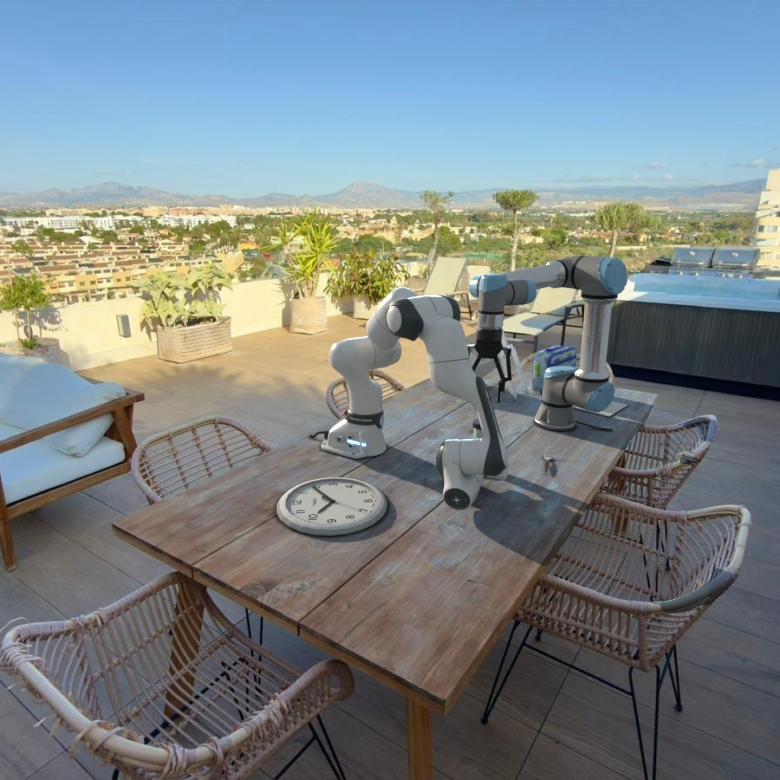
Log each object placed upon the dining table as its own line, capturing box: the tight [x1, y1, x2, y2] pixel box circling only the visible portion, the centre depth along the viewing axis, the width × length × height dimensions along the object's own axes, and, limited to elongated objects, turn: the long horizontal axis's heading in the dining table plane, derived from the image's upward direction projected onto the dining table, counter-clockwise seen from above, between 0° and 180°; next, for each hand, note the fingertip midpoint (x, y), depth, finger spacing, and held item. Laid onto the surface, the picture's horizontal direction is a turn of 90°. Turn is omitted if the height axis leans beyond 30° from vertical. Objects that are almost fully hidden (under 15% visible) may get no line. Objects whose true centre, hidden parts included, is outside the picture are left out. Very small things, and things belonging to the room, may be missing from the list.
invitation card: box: [573, 400, 629, 418], centre depth 226 cm, size 21×1×15 cm
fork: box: [543, 448, 554, 473], centre depth 170 cm, size 3×16×2 cm, turn 160°
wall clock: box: [276, 476, 388, 537], centre depth 142 cm, size 30×2×30 cm
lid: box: [472, 417, 482, 430], centre depth 163 cm, size 6×6×2 cm
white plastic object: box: [469, 326, 531, 400], centre depth 245 cm, size 37×45×31 cm
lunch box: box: [531, 345, 577, 394], centre depth 245 cm, size 26×11×21 cm, turn 134°
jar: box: [472, 427, 484, 439], centre depth 165 cm, size 5×5×15 cm
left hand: (477, 455), depth 162 cm, fingers open, 8 cm apart
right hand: (484, 400), depth 161 cm, fingers open, 8 cm apart
